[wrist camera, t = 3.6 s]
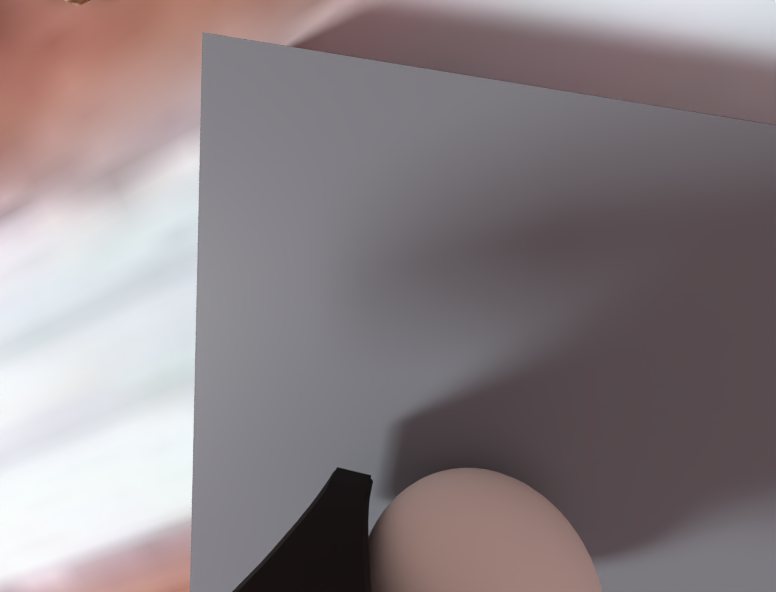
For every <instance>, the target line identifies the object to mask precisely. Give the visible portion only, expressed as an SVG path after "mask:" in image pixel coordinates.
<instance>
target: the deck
mask: <svg viewBox="0 0 776 592" xmlns="http://www.w3.org/2000/svg"><path fill="white" fill-rule="evenodd" d="M337 467H339V468H343V469H347V470H351V471H355V472H360V473H364V474H368V475H371V479H372V480H373V484H372V490H371V495H370V501H369V518H368V537H369V535H370V533H371V530H372V528H373V527H374V525H375V523H376V522H377V520H378V518H379V517H380V515H381V514H382V512H383V511H384V510H385V509H386V507H387V506H388V505H389V504H390V503H391V502H392V501H393V500H394V499H395V497H396V496H397V495H399V494H400V493H401V492H402V491H403V490H405V489H406V488H407V487H409V486H410V485H412V484H414V483H415V482H417V481H418V480H420V479H422V478H424V477H426V476H428V475H431V474H434V473H437V472H440V471H444V470H449V469H456V468H480V469H487V470H491V471H496V472H499V473H502V474H505V475H507V476H510V477H513V478H515V479H517V480H519V481H521V482H523V483H525V484H527V485H528V486H530V487H531V488H533V489H534V490H536V491H537V492H539V493H540V494H541V495H543V496H544V497H545V498H546V499H547V500H549V501H550V502H551V503H552V504H553V505H554V506H555V507H556V508H557V509H558V510H559V511H560V512H561V513H562V514H563V515H564V517H565V518H566V519H567V520H568V521H569V523H570V524H571V525H572V527H573V528H574V530H575V531H576V532H577V534H578V535H579V537H580V539H581V540H582V542H583V544H584V546H585V547H586V549H587V551H588V553H589V555H590V557H591V560H592V562H593V565H594V567H595V570H596V572H597V575H598V578H599V581H600V584H601V589H602V592H776V125H772V124H765V123H759V122H753V121H747V120H741V119H734V118H728V117H722V116H716V115H710V114H704V113H697V112H691V111H685V110H679V109H673V108H667V107H660V106H654V105H648V104H642V103H636V102H629V101H623V100H617V99H611V98H605V97H599V96H592V95H586V94H580V93H574V92H568V91H562V90H555V89H549V88H543V87H537V86H531V85H524V84H518V83H512V82H506V81H500V80H494V79H487V78H481V77H475V76H469V75H463V74H457V73H450V72H444V71H438V70H432V69H426V68H419V67H413V66H407V65H401V64H395V63H389V62H382V61H376V60H370V59H364V58H358V57H351V56H345V55H339V54H333V53H327V52H321V51H314V50H308V49H302V48H296V47H290V46H284V45H277V44H271V43H265V42H259V41H253V40H246V39H240V38H234V37H228V36H222V35H216V34H209V33H203V39H202V83H201V128H200V173H199V217H198V262H197V307H196V351H195V396H194V441H193V485H192V530H191V575H190V592H232V591H233V590H234V589H235V588H236V587H237V586H238V585H239V584H240V583H241V582H242V581H243V580H244V579H245V578H246V577H247V576H248V575H249V574H250V573H251V572H252V571H253V570H254V569H255V568H256V567H257V566H258V565H259V564H260V563H261V562H262V560H263V559H264V558H265V557H266V556H267V555H268V554H269V553H270V552H271V551H272V549H273V548H274V547H275V546H276V545H277V544H278V543H279V541H280V540H281V539H282V538H283V537H284V536H285V534H286V533H287V532H288V531H289V530H290V529H291V528H292V526H293V525H294V524H295V523H296V522H297V521H298V519H299V518H300V517H301V516H302V514H303V513H304V512H305V511H306V509H307V508H308V507H309V506H310V504H311V503H312V502H313V501H314V499H315V498H316V497H317V495H318V494H319V493H320V491H321V490H322V488H323V487H324V485H325V484H326V483H327V481H328V480H329V478H330V476H331V475H332V473H333V472H334V471H335V470H336V468H337Z"/></svg>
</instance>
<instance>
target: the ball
mask: <svg viewBox="0 0 776 592" xmlns="http://www.w3.org/2000/svg"><path fill="white" fill-rule="evenodd" d="M368 540H369V561H370V574H371V587H372V592H602V589H601V584H600V581H599V578H598V575H597V572H596V570H595V567H594V565H593V562H592V560H591V557H590V555H589V553H588V551H587V549H586V547H585V546H584V544H583V542H582V540H581V539H580V537H579V535H578V534H577V532H576V531H575V530H574V528H573V527H572V525H571V524H570V523H569V521H568V520H567V519H566V518H565V517H564V515H563V514H562V513H561V512H560V511H559V510H558V509H557V508H556V507H555V506H554V505H553V504H552V503H551V502H550V501H549V500H547V499H546V498H545V497H544V496H543V495H541V494H540V493H539V492H537V491H536V490H534V489H533V488H531V487H530V486H528V485H527V484H525V483H523V482H521V481H519V480H517V479H515V478H513V477H510V476H507V475H505V474H502V473H499V472H496V471H491V470H487V469H480V468H456V469H449V470H444V471H440V472H437V473H434V474H431V475H428V476H426V477H424V478H422V479H420V480H418V481H417V482H415V483H414V484H412V485H410V486H409V487H407V488H406V489H405V490H403V491H402V492H401V493H400V494H399V495H397V496H396V497H395V499H394V500H393V501H392V502H391V503H390V504H389V505H388V506H387V507H386V509H385V510H384V511H383V512H382V514H381V515H380V517H379V518H378V520H377V522H376V523H375V525H374V527H373V528H372V530H371V533H370V535H369V537H368Z"/></svg>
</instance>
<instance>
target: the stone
mask: <svg viewBox="0 0 776 592" xmlns="http://www.w3.org/2000/svg"><path fill="white" fill-rule="evenodd" d="M65 1H67V2H69V3H71V4H74V5H77V6H79V5H81V4H83V3H85V2H87V1H89V0H65Z"/></svg>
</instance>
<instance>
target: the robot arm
mask: <svg viewBox="0 0 776 592" xmlns="http://www.w3.org/2000/svg"><path fill="white" fill-rule="evenodd" d="M372 484H373V480H372V479H371V475H368V474H364V473H360V472H355V471H351V470H347V469H343V468H339V467H337V468H336V470H335V471H334V472H333V473H332V475H331V476H330V478H329V480H328V481H327V483H326V484H325V485H324V487H323V488H322V490H321V491H320V493H319V494H318V495H317V497H316V498H315V499H314V501H313V502H312V503H311V504H310V506H309V507H308V508H307V509H306V511H305V512H304V513H303V514H302V516H301V517H300V518H299V519H298V521H297V522H296V523H295V524H294V525H293V526H292V528H291V529H290V530H289V531H288V532H287V533H286V534H285V536H284V537H283V538H282V539H281V540H280V541H279V543H278V544H277V545H276V546H275V547H274V548H273V549H272V551H271V552H270V553H269V554H268V555H267V556H266V557H265V558H264V559H263V560H262V562H261V563H260V564H259V565H258V566H257V567H256V568H255V569H254V570H253V571H252V572H251V573H250V574H249V575H248V576H247V577H246V578H245V579H244V580H243V581H242V582H241V583H240V584H239V585H238V586H237V587H236V588H235V589H234V590H233V591H232V592H372V587H371V574H370V561H369V540H368V518H369V501H370V495H371V490H372Z"/></svg>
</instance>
